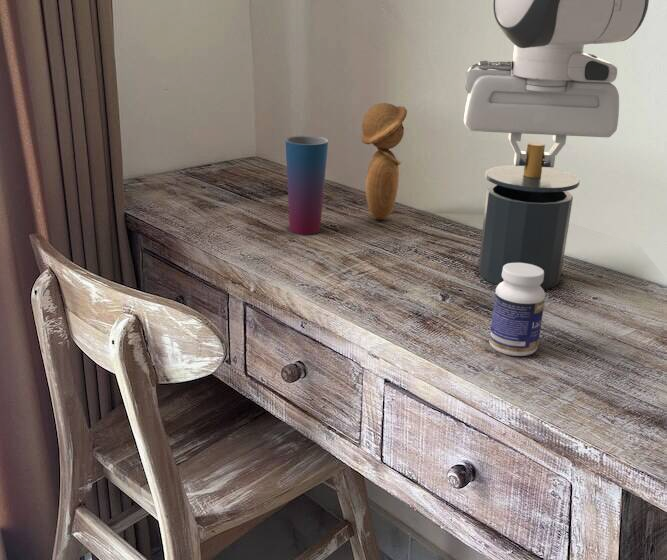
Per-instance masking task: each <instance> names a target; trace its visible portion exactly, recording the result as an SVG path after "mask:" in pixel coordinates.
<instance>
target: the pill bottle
mask: <svg viewBox="0 0 667 560" xmlns="http://www.w3.org/2000/svg"><path fill="white" fill-rule="evenodd" d="M502 278H503V279H504V281H503V282H501V283H500V284H499V285H496V288H495V293H494V300H493V301H494V302H493V308H492V317H491V322H490V331H489V339H488V342H489V345H490V346H491V348H492V349H494V350H495V351H496V352H499V353H501V354H504V355H507V356H514V357H523V356H524V357H526V356H530V355H532V354H534V353H535V352H536V351H537V350H538V349H539V348H538V347H539V341H540V335H541V328H542V323H543V322H542V321H543V314H544V309H545V301H546V293H545V292H546V291H545V289H542V287H541V286H540V284H541V283H542V282H543V279H544V271H543V269H541V268H540V267H538V266H535V265H532V264H527V263H508V264H505V265H504V266H503V270H502Z"/></svg>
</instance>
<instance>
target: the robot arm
mask: <svg viewBox="0 0 667 560" xmlns="http://www.w3.org/2000/svg"><path fill="white" fill-rule="evenodd" d="M649 2H650V0H493V3H492V7H493V14H494V15H493V16H494V18H495V21H496V24H497V25H498V27H499V29H500V30H501V32H502V33H503V34H504V36H505V37H506V38H507V39H508V40H509V41H510V42H511V43H512V44H513V55H512V61H507V60H506V61H505V60H501V61H489V60H479V61H478V63H477V62H476V63H474V64H472V65H471V66H469V68H468V69H467V71H466V74H465V82H464V83H465V84H464V85H465V90H466V92H467V93H468V94H467V98H466V103H465V106H464V107H465V108H464V109H465V110H464V115H463V123H464V126H465V127H466V128H467V129H468V131H470V132H481V133H502V134H503V133H504V134H508V136H507V138H508V140H509V142H510V145H511V147H512V149H513V151H514V157H513V165H515V166H526V159H527V153H526V151H524V150H521V149H520V147H519V144H518V142H521V140H522V135H525V134H526V135H545V136H552V140H553V141H554V144H553V145H552V146H551V148H550V149H549V150H548V151H547V152H546V151H544V157H543V165H542V167H547V168H553V169H554V167H555V160H556V156H557V155H558V154H559V153H560V151H562V149H563V148H564V146H565V145H566V141H567V137H586V138H588V137H590V138H610V137H612V136H613V135H614V134H615V133H616V132H617V129H618V126H619V125H618V124H619V115H620V95H619V94H620V93H619V91H618V88H617V87H616V85H614V82H615V81H616V79H617V76H618V68H617V66H615V65H614V64H613V63H611V62H609V61H607V60H605V59H602V58H599V57H597V56H596V55H594V54H592V53H586V52H584V47H585V45H611V44H616V43H620V42H621V43H622V42H625V41H627V40H629V39H630V38H631V37H632V36H633V35H634V34H635V33H636V32H637V31H638V30H639V29H640V27H641V26H642V24H643V22H644V20H645V18H646V16H647V13H648V10H649V9H648V8H649V4H650V3H649Z"/></svg>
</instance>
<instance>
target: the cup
mask: <svg viewBox="0 0 667 560" xmlns="http://www.w3.org/2000/svg"><path fill="white" fill-rule="evenodd" d="M284 141H285V162H286V176H287V177H286V182H287V183H286V184H287V201H288V223H289V231H290V232H291V233H293V234H297V235H303V236H304V235H305V236H306V235H307V236H308V235H314V234H317V233H319V232H320V231H321V222H322V212H323V203H324V202H323V201H324V191H325V182H326V181H325V180H326V169H327V159H328V149H329V139H328V138H326V137H322V136H317V135H302V134H301V135H291V136H288V137H286V138H285V140H284Z"/></svg>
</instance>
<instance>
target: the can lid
mask: <svg viewBox="0 0 667 560" xmlns="http://www.w3.org/2000/svg"><path fill="white" fill-rule="evenodd" d="M545 149H546V144H545V143H543V142H538V141H530V142H527V143H526V153H527V159H526V166H515V165H514V164H506V165H497V166H493V167H490V168H488V169H487V170H485V175H484V177H485V179H486V180H487V181H488V182H490V183H491V184H496V185H499V186H503V187H506V188H511V189H515V190H519V191H526V192H538V193H546V192H563V191H567V192H570V191H572V190H575V189H577V188H579V186H580V178H579V177H578V176H577V175H575V174H573V173H571V172H568V171H565V170H561V169H557V168H554V167H553V168H552V167H542V165H543V157H544V152H545Z"/></svg>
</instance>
